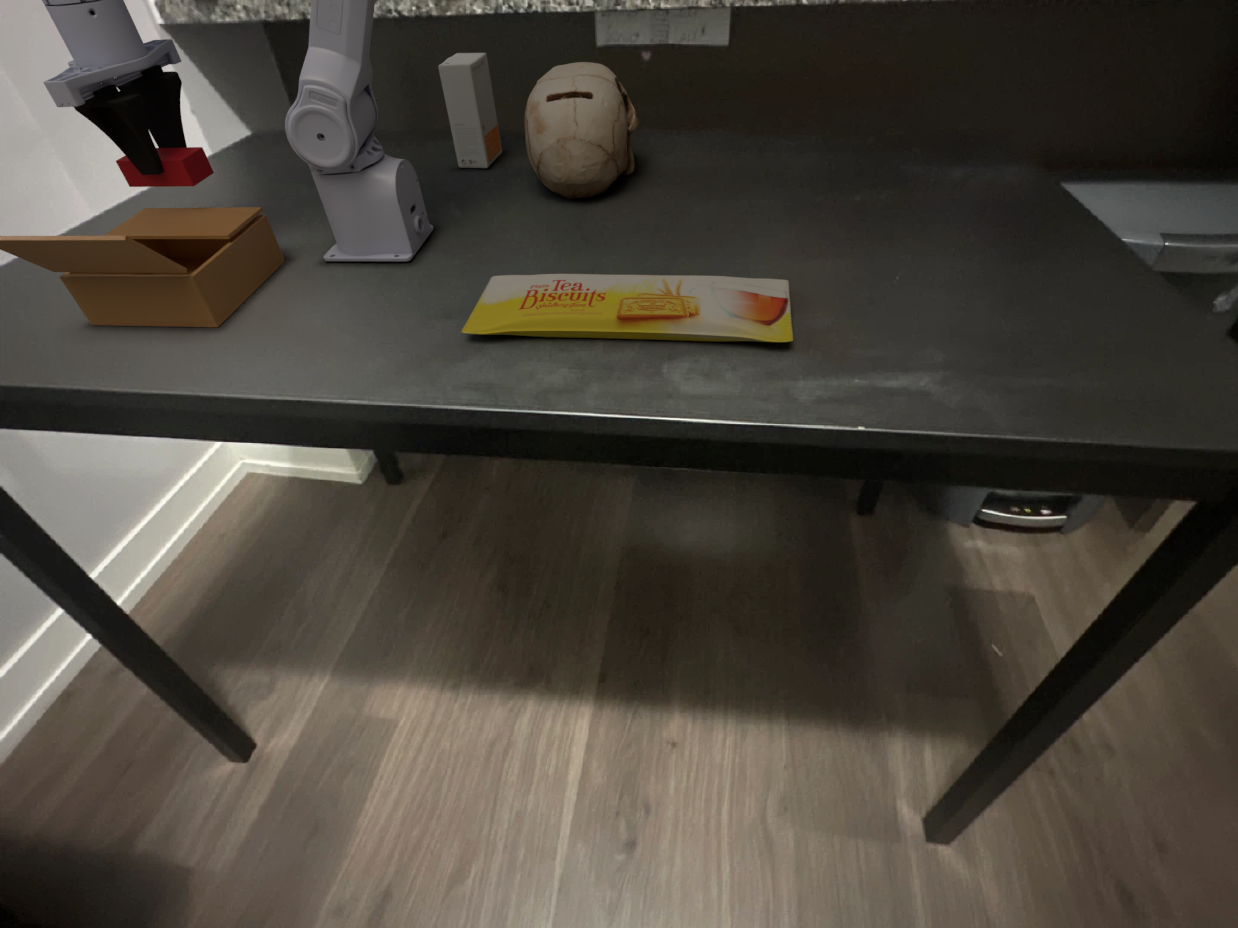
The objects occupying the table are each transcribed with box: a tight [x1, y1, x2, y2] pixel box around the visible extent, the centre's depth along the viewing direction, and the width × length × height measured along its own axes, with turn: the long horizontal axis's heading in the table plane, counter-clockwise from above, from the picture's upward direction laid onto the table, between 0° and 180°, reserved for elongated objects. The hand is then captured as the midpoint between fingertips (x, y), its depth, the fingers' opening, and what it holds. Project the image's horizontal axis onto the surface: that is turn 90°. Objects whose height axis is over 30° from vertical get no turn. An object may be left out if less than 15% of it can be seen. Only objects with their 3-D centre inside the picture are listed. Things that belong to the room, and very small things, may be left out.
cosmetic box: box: [437, 52, 503, 169], centre depth 86 cm, size 6×4×12 cm
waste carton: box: [59, 206, 286, 328], centre depth 66 cm, size 13×13×6 cm
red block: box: [115, 146, 214, 188], centre depth 67 cm, size 7×4×2 cm, turn 82°
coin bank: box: [523, 61, 640, 200], centre depth 80 cm, size 16×17×13 cm
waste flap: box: [0, 235, 187, 273], centre depth 56 cm, size 13×6×1 cm
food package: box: [460, 273, 794, 343], centre depth 59 cm, size 27×2×10 cm
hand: (166, 165), depth 67 cm, fingers closed on red block, 3 cm apart
